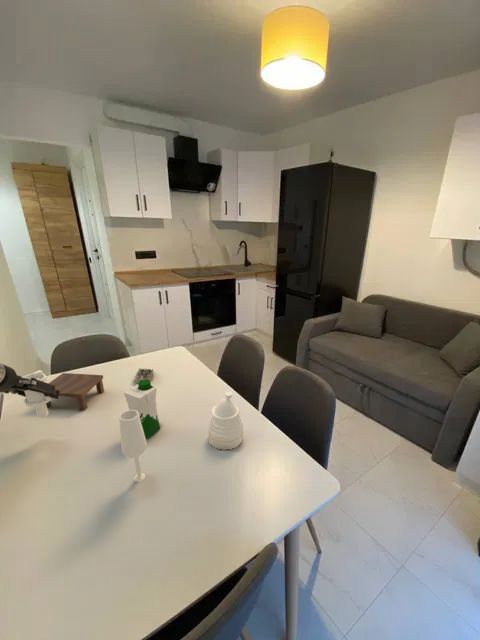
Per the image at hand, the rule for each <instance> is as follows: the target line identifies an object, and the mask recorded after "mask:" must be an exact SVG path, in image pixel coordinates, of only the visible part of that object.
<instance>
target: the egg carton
mask: <svg viewBox="0 0 480 640" xmlns="http://www.w3.org/2000/svg"><path fill="white" fill-rule="evenodd" d="M153 377H154V369H153V368H152V369H151V368H141V367H140V368H138V370H137V372H136V374H135V375H134V377H133V378H134V381H135V383H136V385H138V382H139V381H141V380H150V383H152V380H153Z"/></svg>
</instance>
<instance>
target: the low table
mask: <svg viewBox="0 0 480 640" xmlns="http://www.w3.org/2000/svg"><path fill="white" fill-rule="evenodd" d="M103 379H104V375H103V374H88V373H72V372H71V373H70V372H69V373H68V372H62V373H61V374H59V375H57V376H56V378H54V379H52V380H51V381H50V382H47V383H48V384H51V385H54V386H55V389H56V390H58V391H60V392H59V396H58V397H62V398H63V397H64V398H76V399H77V404H78V409H79V411H86V410H87V409H88V407H89V406H88V403H87V400H86V394H88V393H89V392H90V391H91V390H92V389H93V388H94V387H95V388H96V392H97V394H103V393H104V392H105V387H104V383H103ZM46 405H47V409H49V408H51V407H52V400H50V401H49V402H48V403H46Z"/></svg>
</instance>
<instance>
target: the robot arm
mask: <svg viewBox="0 0 480 640" xmlns="http://www.w3.org/2000/svg"><path fill="white" fill-rule="evenodd" d="M22 377H23V376H21V375H18V374H17V372H16V370H15V369H14V368H12V367H11V366H9V365H6V364H4V363H1V362H0V393H1V394H2V393H3V394H10V393H11V394H12V395H18V396H21V397H24V398H26V395H25V392H24V391H27V390H29V391H34V392H38V393H43V395H45V396H46V397H48V396H49V397H51V398H52V399H55V400H59V397H60V396H59V392H60V391H58V390H56V389H55V386H54V385H51V384H48V383H49V382H46V381H45V382H42V381H39V379H38V378H37V377H32V378H28V379H26V378H22Z"/></svg>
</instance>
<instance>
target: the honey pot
mask: <svg viewBox="0 0 480 640" xmlns="http://www.w3.org/2000/svg"><path fill="white" fill-rule="evenodd" d="M224 396H225V398H222V399H221V400H219V402H218V403H217V404H216V405H214V406H213V407H212V409H211V410H210V413H211V417H210V420H209V422H208V425H207V441H208V440H209V441H208V444H209V445H210V444H211V445H212V446H213V448H214V447H215V448H214V449H216V448H218V449H217V450H219V449H222V450H221V451H227V450H226V449H230V450H233V449H232V448H234V449H235V447H236V448H237V446H238V445H239V444H240V443H241V442H242V443H243V441H242V440H244V423H243V421H242V418H241V416H240V412H241V411H240V408H239V406H237V405H236V404H234V402H233V401H232V400H230V399H231V398H232V397H233V392H232V391H226V392H225V393H224ZM242 443H241V444H242ZM241 444H240V445H241ZM211 445H210V446H211ZM240 445H239V446H240ZM212 446H211V447H212ZM239 446H238V447H239Z"/></svg>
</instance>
